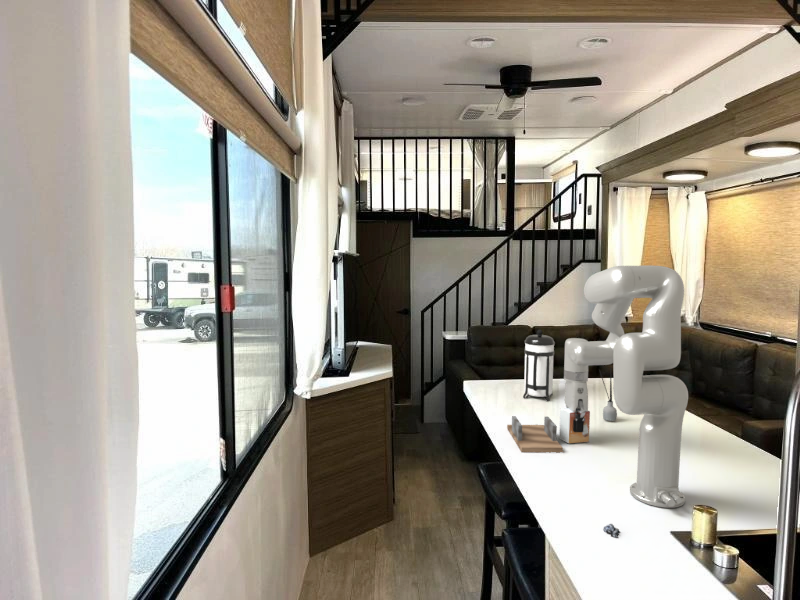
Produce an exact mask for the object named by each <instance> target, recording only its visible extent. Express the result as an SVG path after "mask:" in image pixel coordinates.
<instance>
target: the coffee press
mask: <svg viewBox="0 0 800 600" xmlns="http://www.w3.org/2000/svg"><path fill="white" fill-rule="evenodd" d="M536 332H537V334H532V335H531V334H530V335H528V336H527V337H526V338H525V340H524V344H525V346H524V385H523V386H524V387H523V392H524V394H523V396H522V397H523V398H524V399H525V397H526V398H527V399H528V398H529V397H530V396H531V397H536V398H537V397H539V398H544V400H545V401H546V400H547V401H546V402H551V397H552V396H553V386H554V385H553V383H554V381H553V379H554V377H553V376H554V356H555V350H554V349H555V347H554V346H555V344H556V342H555V341H554V338H553V337H551V336H549V335H544V334H543V330H541V329H538V330H536ZM551 395H552V396H551Z"/></svg>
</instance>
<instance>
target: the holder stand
mask: <svg viewBox="0 0 800 600" xmlns="http://www.w3.org/2000/svg"><path fill="white" fill-rule="evenodd" d="M543 420H544V423H543V424H522V423H521V422H520V420H519V419H518V418H517V416H514V415H513V416H512V417H511V424H507V425H506V428H507V431H508V432H509V434H510V436H511V438H512V439H513V440H514V442H515V444H516V446H517V447H518V449H519V452H521V453H546V452H549V453H551V452H556V454H557V453H560V452H563V453H564V451H563V450H564V448H563V446H562V445H561V444H560V442H558V440H557V435H558V434H557V430H558V429H557V428H558V427H557V424H556V423H554V422H553V420H552V419H551V418H550V417H549V416H544V419H543Z"/></svg>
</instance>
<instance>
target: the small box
mask: <svg viewBox="0 0 800 600" xmlns="http://www.w3.org/2000/svg"><path fill="white" fill-rule="evenodd" d="M576 411H580V410H579V409H576ZM578 414H580V413H577V415H578ZM590 417H591V411H590V410H588V411H587V412H585V415H584V429H583V432H574V431H573V420H575V418H574V411H572V410H571V409H570V408H567V407H565V408H563V407H562V408H560V410H559V432H558V433H559V436H558V438H559V439H560V440H561V441H563V442H564V443H565V442H566V443H568V444H574V443H575V444H576V443H578V444H579V443H589V442H590V424H591V423H590V421H591V419H590Z"/></svg>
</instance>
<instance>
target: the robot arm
mask: <svg viewBox="0 0 800 600" xmlns="http://www.w3.org/2000/svg"><path fill="white" fill-rule="evenodd" d="M583 287H584V288H583V294H584V298H585V300H586V301H587V302H588V303H590V304H595V305H594V309H593V311H592V312H591V319H592V322H593V323H594V324H595V325H596V326H598V327H599V328H601V329H603V330H604V331H606V332H609V334H608V336H607V338H606V340H597V341H595V340H594V341H588V340H587V339H585V338H580V337H578V338H577V337H571V338H570V337H569V338H567V339H566V340H565V342H564V363H563V364H564V365H563V366H564V367H563V380H564V381H565V387H564V404H565V408H570V409H571V410H572V411H574V418H575V420H573V431H574V432H583V429H584V415H585V412H587V411H589V393H588V383H587V382H589V366H604V365H605V366H607V365H608V366H609V365H612V364H613V365H612V366H613V398H614V402H615V404H616V407H617V408H618V410H619V411H620V412H621V413H624V414H626V415H628V416H630V415H632V416H640V415H641V416H642V415H643V417H642V419H641V421H640V424H639V428H638V431H639V432H638V448H637V449H638V450H637V466H636V467H637V470H636V482H634V483H632V484H631V485H629V493H630V495H631V496H632V497H633V498H634V499H636V500H637V501H639V502H641V503H644V504H647V505H649V506H654V507H658V508H668V509H671V508H679V507H682V506H683V505H684V504H685V502H686V497H685V495H684V494H683V493H682V492H681V491H680V490H679V489H680V488H679V485H680V484H679V483H680V465H681V464H680V462H681V447H682V446H681V444H682V443H681V442H682V433H683V432H682V431H683V422H684V417H685V413H686V410H687V406H688V401H689V391H688V388H687V385H686V384H685V382H684V381H683V380H682V379H680V378H679V377H676V376H674V375H670V374H650V375H647V374H645V375H644V371H645V372H646V371H664V370H671V369H674V368H676V367H677V366H678V365H679V364H680V361H681V356H682V340H681V339H682V325H681V323H682V322H681V318H682V317H681V316H682V308H683V302H684V297H685V285H684V281H683V279H682V276H681V275H680V274H679V273H678V272H677V271H676V270H675V269H672V268H670V267H667V266H662V265H615V266H612V267H609V268H606V269H604V270H602V271H601V270H600V271H598V272H596V273H593V274H592V275H590V276H589V278H587V280H586V281H585V284H584V286H583ZM648 298H649V299H650V301H649V303H648V304H647V305H646V308H645V309H644V312H643V314H642V332H628V333H625V330H624V327H623V326H622V322H623V320H624V318H625V316H626V315H627V313H628V311H629V309H630V307H631V305H632V303H633V302H634V299H648ZM576 409H579V410H580V411H576ZM577 413H580V414H578V415H577Z"/></svg>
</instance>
